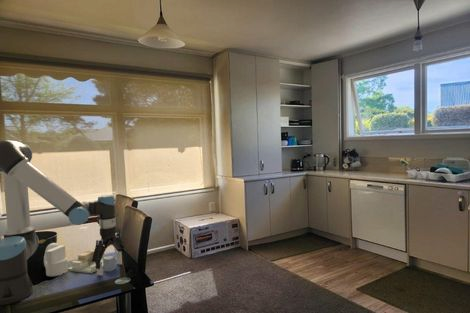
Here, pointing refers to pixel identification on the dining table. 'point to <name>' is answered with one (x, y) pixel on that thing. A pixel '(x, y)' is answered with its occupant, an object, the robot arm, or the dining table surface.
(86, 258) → the fuselage bar
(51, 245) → the figurine
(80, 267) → the jig
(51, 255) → the cylinder with rectangular tab
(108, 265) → the tail block
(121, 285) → the dining table surface
